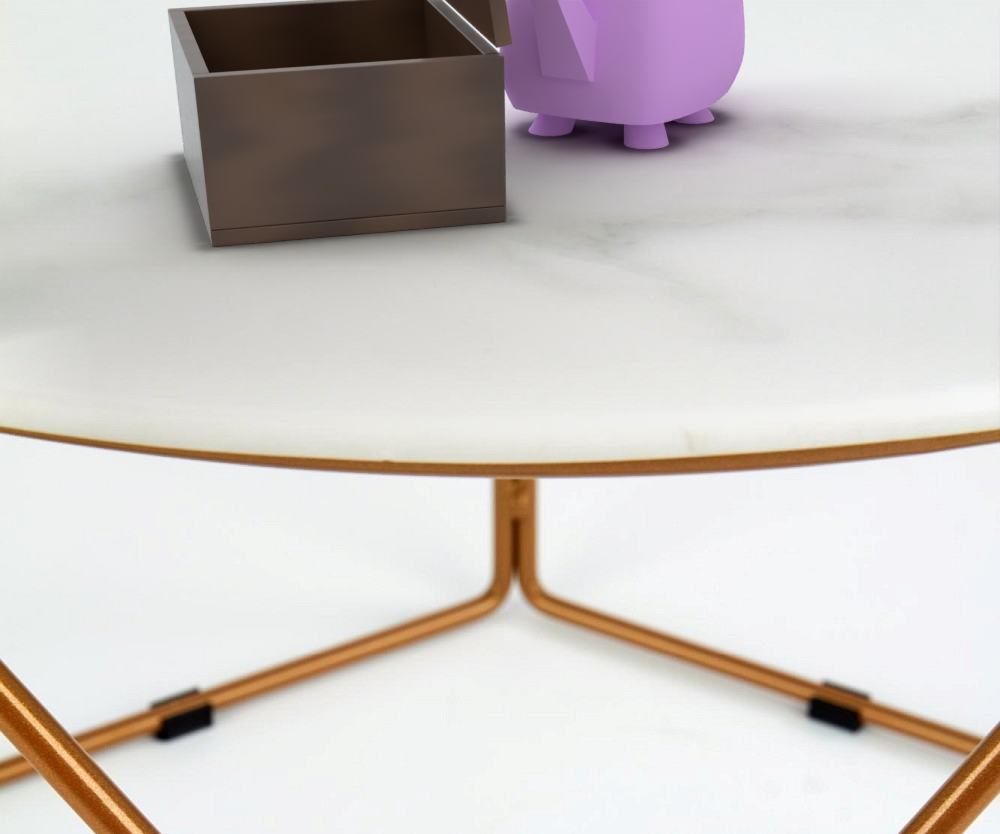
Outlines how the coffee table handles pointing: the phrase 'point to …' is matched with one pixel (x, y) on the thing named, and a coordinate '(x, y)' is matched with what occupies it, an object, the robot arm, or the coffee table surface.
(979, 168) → the coffee table surface
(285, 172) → the brown wooden box
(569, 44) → the purple piggy bank
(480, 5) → the lid
